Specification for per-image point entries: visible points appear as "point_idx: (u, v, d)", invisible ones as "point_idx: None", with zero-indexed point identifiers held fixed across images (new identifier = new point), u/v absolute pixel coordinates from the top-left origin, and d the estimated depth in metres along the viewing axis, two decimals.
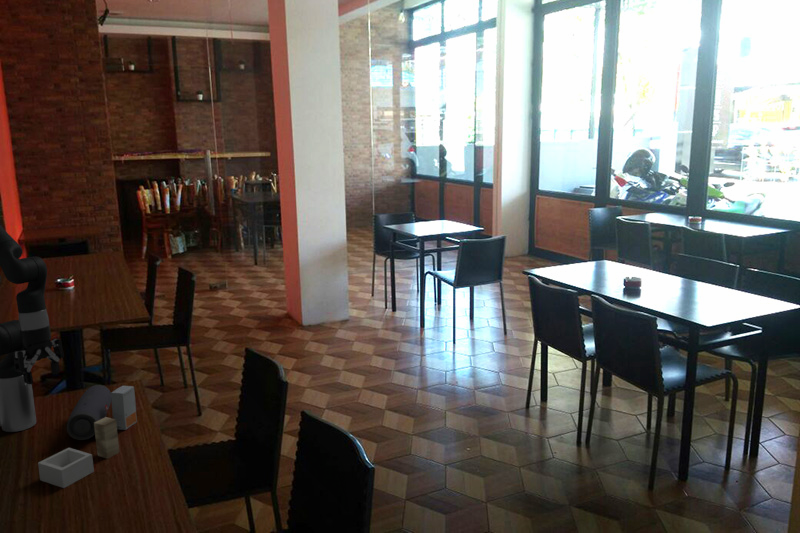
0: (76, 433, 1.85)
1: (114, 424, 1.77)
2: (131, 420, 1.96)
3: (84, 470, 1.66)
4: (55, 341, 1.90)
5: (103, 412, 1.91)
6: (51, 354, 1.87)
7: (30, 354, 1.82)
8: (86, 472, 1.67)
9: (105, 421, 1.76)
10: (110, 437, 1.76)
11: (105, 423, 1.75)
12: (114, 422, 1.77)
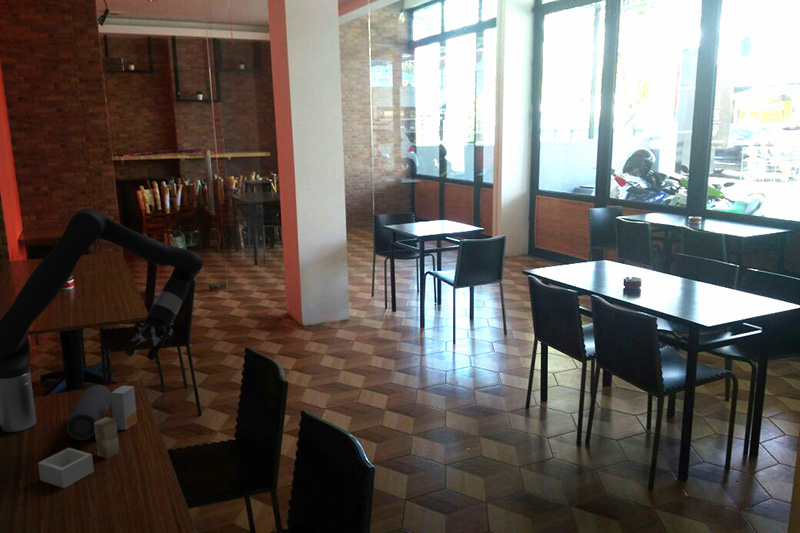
0: (76, 433, 1.85)
1: (114, 424, 1.77)
2: (131, 420, 1.96)
3: (84, 470, 1.66)
4: None
5: (103, 412, 1.91)
6: None
7: None
8: (86, 472, 1.67)
9: (105, 421, 1.76)
10: (110, 437, 1.76)
11: (105, 423, 1.75)
12: (114, 422, 1.77)
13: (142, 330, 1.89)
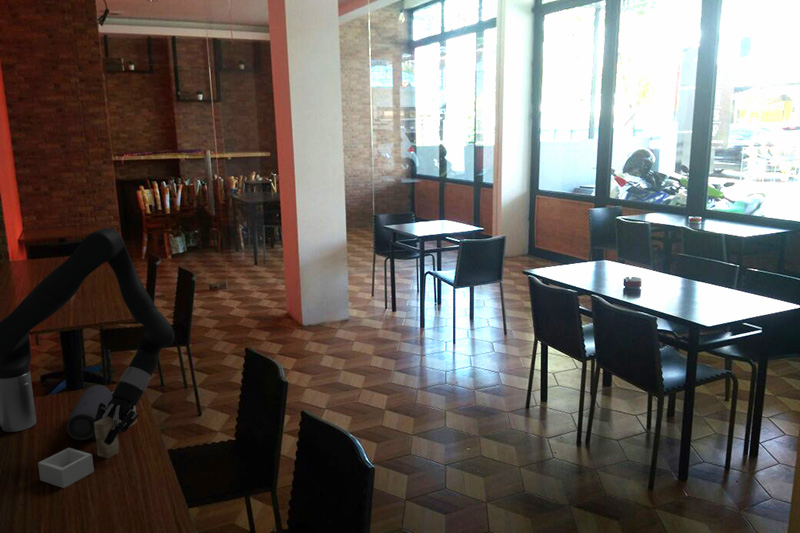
0: (76, 433, 1.85)
1: None
2: None
3: (84, 470, 1.66)
4: None
5: None
6: None
7: None
8: (86, 472, 1.67)
9: (105, 421, 1.76)
10: None
11: (105, 423, 1.75)
12: None
13: (108, 410, 1.79)
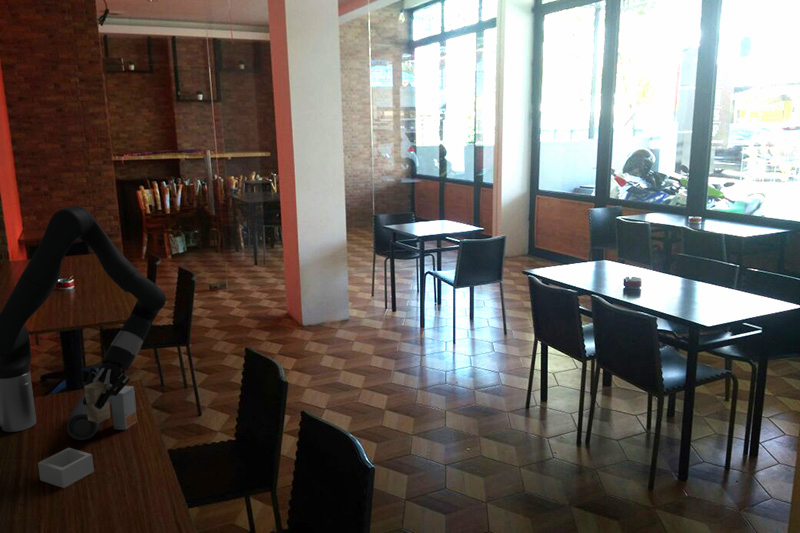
0: (76, 433, 1.85)
1: None
2: (131, 420, 1.96)
3: (84, 470, 1.66)
4: None
5: None
6: None
7: None
8: (86, 472, 1.67)
9: (95, 385, 1.72)
10: None
11: (96, 387, 1.71)
12: None
13: (99, 374, 1.76)
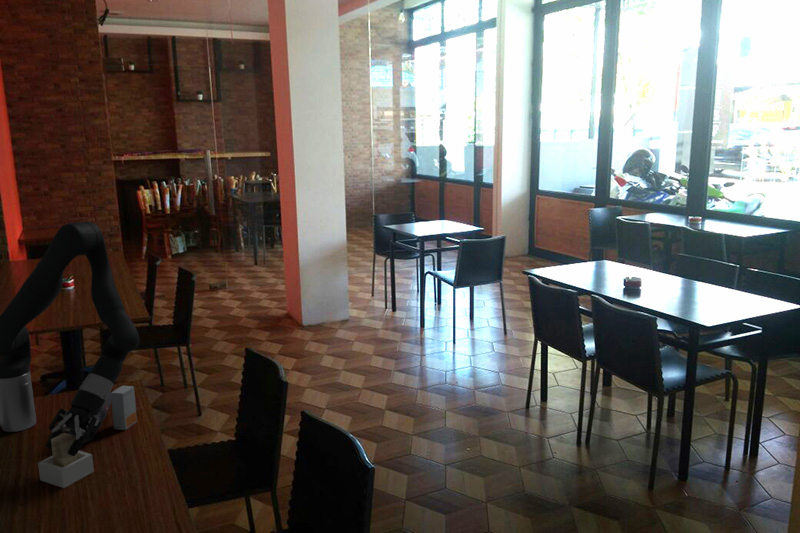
0: None
1: None
2: (131, 420, 1.96)
3: (84, 470, 1.66)
4: None
5: (103, 412, 1.91)
6: None
7: None
8: (86, 472, 1.67)
9: (62, 438, 1.64)
10: None
11: (63, 440, 1.63)
12: (73, 438, 1.65)
13: (65, 419, 1.68)
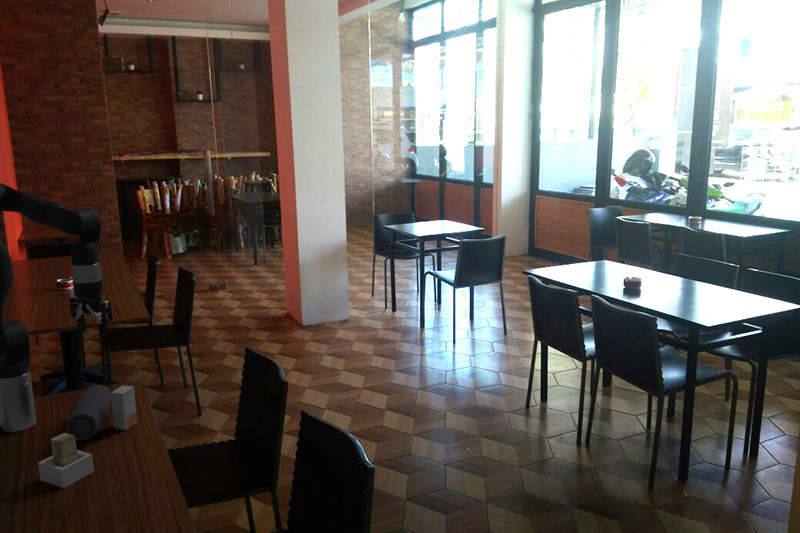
0: (76, 433, 1.85)
1: (73, 441, 1.66)
2: (131, 420, 1.96)
3: (84, 470, 1.66)
4: (78, 298, 1.83)
5: (103, 412, 1.91)
6: None
7: None
8: (86, 472, 1.67)
9: (62, 438, 1.64)
10: (69, 454, 1.65)
11: (63, 440, 1.63)
12: (73, 438, 1.65)
13: (80, 308, 1.80)
